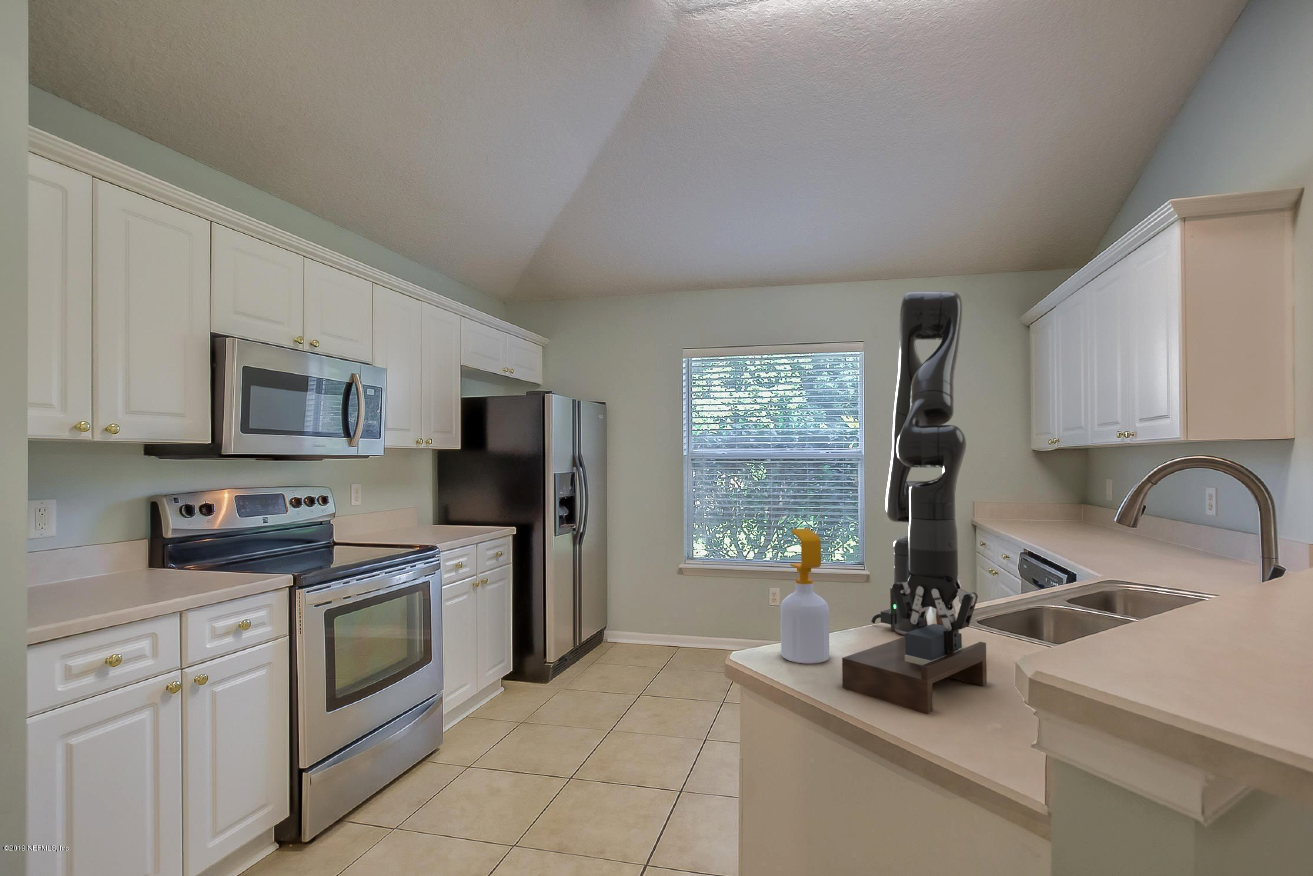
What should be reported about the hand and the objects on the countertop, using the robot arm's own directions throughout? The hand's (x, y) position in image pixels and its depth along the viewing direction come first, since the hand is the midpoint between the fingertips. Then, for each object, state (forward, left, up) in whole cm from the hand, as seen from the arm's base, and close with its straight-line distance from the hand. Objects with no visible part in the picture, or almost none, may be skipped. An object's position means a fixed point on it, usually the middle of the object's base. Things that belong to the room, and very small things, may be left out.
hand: (934, 649), depth 109 cm
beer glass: (-8, +20, -7) cm, 23 cm away
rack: (-3, 0, -7) cm, 8 cm away
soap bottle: (-25, -1, -7) cm, 26 cm away
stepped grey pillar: (0, 0, -1) cm, 1 cm away
